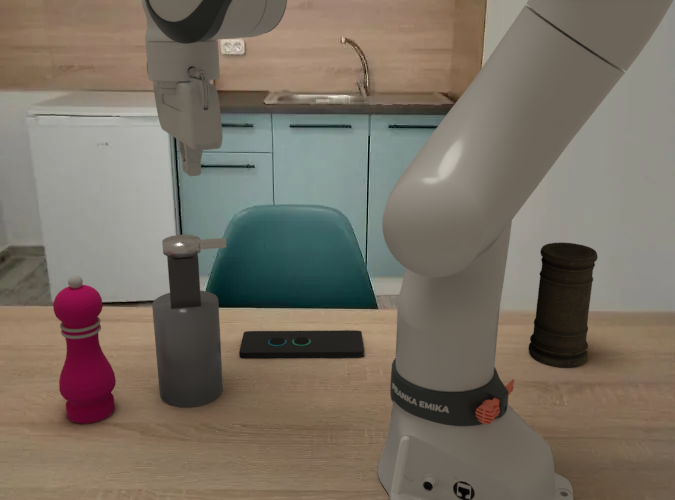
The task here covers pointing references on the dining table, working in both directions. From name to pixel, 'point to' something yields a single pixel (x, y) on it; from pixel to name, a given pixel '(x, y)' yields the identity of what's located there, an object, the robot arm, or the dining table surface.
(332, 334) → the smart home device
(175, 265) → the dispenser
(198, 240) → the pump head
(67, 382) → the pepper mill
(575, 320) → the container
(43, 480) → the dining table surface
